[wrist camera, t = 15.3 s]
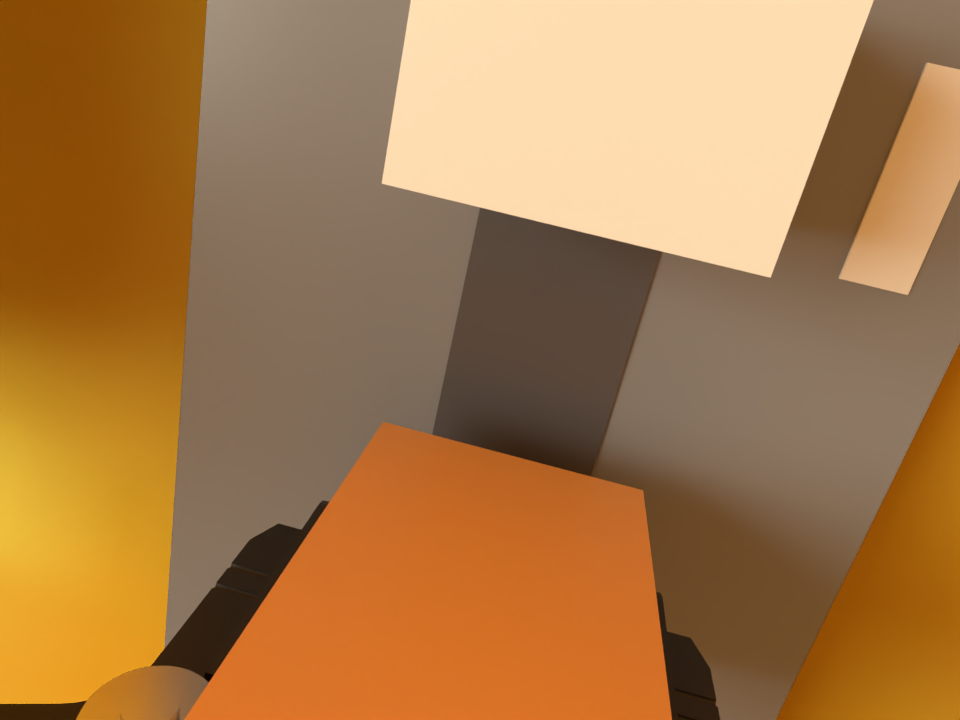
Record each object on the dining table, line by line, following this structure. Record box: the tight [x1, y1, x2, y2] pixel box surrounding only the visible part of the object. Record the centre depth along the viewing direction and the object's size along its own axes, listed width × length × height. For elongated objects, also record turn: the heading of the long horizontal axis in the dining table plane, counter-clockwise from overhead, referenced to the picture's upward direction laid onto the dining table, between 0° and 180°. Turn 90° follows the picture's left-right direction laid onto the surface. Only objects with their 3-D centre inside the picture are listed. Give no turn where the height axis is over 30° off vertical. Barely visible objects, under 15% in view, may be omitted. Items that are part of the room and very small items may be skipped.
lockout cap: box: [184, 422, 672, 720], centre depth 9 cm, size 4×4×6 cm
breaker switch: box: [382, 0, 874, 278], centre depth 8 cm, size 3×4×4 cm
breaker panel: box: [165, 0, 960, 720], centre depth 13 cm, size 26×12×4 cm, turn 168°
